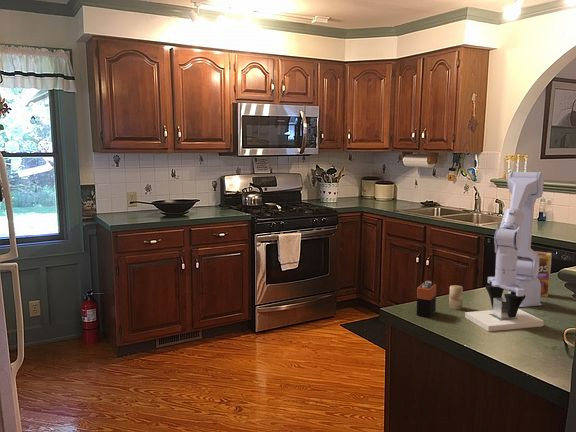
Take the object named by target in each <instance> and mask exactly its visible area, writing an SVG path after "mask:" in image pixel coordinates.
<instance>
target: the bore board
mask: <svg viewBox="0 0 576 432" xmlns="http://www.w3.org/2000/svg"><path fill="white" fill-rule="evenodd" d="M464 318H466V319H467V320H469V321H471V322H472V323H474V324H475V325H477V326H479V327H480V328H482V329H484V330H485V331H487V332H495V331H506V330H517V329H527V328H529V329H530V328H538V327H544V326H545V325H544V322H545V320H543V319H541V318H538V317H537V316H534V315H533V314H531V313H528V312H526V311H524V310H522V309H520V308H519V309H518V311H517V314H516V317H513V320H503V321H500V320H499V319H497V318H495V317H493V309H488V310H478V311H476V310H475V311H467V312H466V311H465V312H464Z"/></svg>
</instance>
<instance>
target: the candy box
mask: <svg viewBox="0 0 576 432" xmlns="http://www.w3.org/2000/svg"><path fill="white" fill-rule="evenodd" d="M533 251H534V252H536V253H537V254H538V256H539V273H538V276H537V277H536V278H538V279H539V281H540V283H541V295H540V297H548V296H549V293H550V280H551V270H552V269H551V268H552V256H553V253H552V252H545V251H535V250H533ZM521 258H527V259H531V258H528V257H521Z"/></svg>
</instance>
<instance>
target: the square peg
mask: <svg viewBox="0 0 576 432" xmlns="http://www.w3.org/2000/svg"><path fill="white" fill-rule="evenodd" d="M492 310H493V317H495V318H497V319H499V320H500V321H503V320H513V317H508V314H507V302H506V298H505V296H502V297H498V298H494V299H493V309H492Z"/></svg>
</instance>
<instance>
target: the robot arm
mask: <svg viewBox="0 0 576 432" xmlns="http://www.w3.org/2000/svg"><path fill="white" fill-rule="evenodd" d="M506 182H507V188H508V191H509V193H510V194H511V196H510V197H511V198H510V202H509V203H510V204H509V208H506V209H505V210H504V212H503V215H502V219H501V221H500V225H499V229H496V230H495V232H494V236H493V237H494V239H493V240H494V241H493V243H494V253H495V271H494V272H495V273H494V276H487V283H488V284H489V285H487V284H486V285H485V290H486V291H487V293H488V296H489V298H490V299H489V300H490V305H491V310H493V299H494V298H498V297H505V298H506V302H507V314H508V317H516V314H517V311H518V309H520V308H523V307H524V308H525V307H535V306H542V305H543V304H542V302H541V296H540V295H541V283H540V281H539V279H538V278H536V277H537V276H538V273H539V256H538V254H537V253H536V252H534V251H535V250H533V249H532V248H531V247H532V238H533V237H532V235H533V227H534V226H533V223H534V214H535V213H534V212H535V203H536V201H537V199H540V198H542V197H543V194H544V184H545V183H544V182H545V175H544V173H543V172H542V171H539V172H538V171H536V172H535V171H534V172H533V171H513V170H511V171H510V172H509V173H508V176H507V181H506ZM522 257H528V258H531V259H527V258H522ZM504 291H507V293H504ZM503 294H504V296H503Z"/></svg>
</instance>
